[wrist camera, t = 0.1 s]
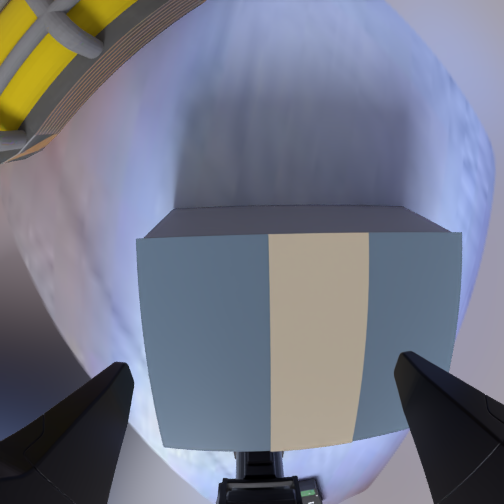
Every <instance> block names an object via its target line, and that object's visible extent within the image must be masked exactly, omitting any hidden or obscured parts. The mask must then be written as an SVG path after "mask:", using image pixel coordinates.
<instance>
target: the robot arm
mask: <svg viewBox="0 0 504 504" xmlns="http://www.w3.org/2000/svg"><path fill="white" fill-rule="evenodd" d="M394 378H395V382H396V385H397V389H398V393H399V397H400V401H401V405H402V408H403V412H404V415H405V417H406V420H407V423H408V426H409V428H410V431H411V434H412V436H413V439H414V442H415V445H416V448H417V451H418V454H419V457H420V460H421V463H422V466H423V469H424V472H425V475H426V479H427V482H428V485H429V488H430V492H431V495H432V499H433V502H434V504H504V405H503V404H501V403H500V402H498V401H496V400H494V399H492V398H491V397H489V396H487V395H485V394H484V393H482V392H481V391H479V390H477V389H475V388H474V387H472V386H470V385H469V384H467V383H465V382H463V381H462V380H460V379H458V378H457V377H455V376H453V375H452V374H450V373H448V372H447V371H445V370H443V369H442V368H440V367H438V366H436V365H435V364H433V363H431V362H430V361H428V360H426V359H425V358H423V357H421V356H420V355H418V354H416V353H415V352H413V351H406V352H401V353H400V354H399V357H398V360H397V363H396V366H395V369H394ZM133 389H134V380H133V377H132V374H131V371H130V369H129V366H128V364H127V363H125V362H114V363H113V364H111V365H110V366H109V367H107V368H106V369H105V370H103V371H102V372H100V373H99V374H98V375H96V376H95V377H94V378H92V379H91V380H90V381H88V382H87V383H85V384H84V385H83V386H81V387H80V388H79V389H77V390H76V391H74V392H73V393H72V394H71V395H69V396H68V397H67V398H65V399H64V400H62V401H61V402H60V403H58V404H57V405H55V406H54V407H53V408H51V409H50V410H49V411H47V412H46V413H44V415H42V416H40V417H39V418H37V419H36V420H34V421H33V422H31V423H30V424H29V425H27V426H26V427H24V428H22V429H21V430H19V431H17V432H16V433H14V434H12V435H11V436H9V437H7V438H5V439H4V440H2V441H0V504H107V502H108V498H109V493H110V489H111V485H112V481H113V477H114V473H115V469H116V464H117V461H118V457H119V453H120V449H121V446H122V442H123V438H124V435H125V431H126V428H127V424H128V419H129V412H130V406H131V401H132V395H133ZM283 453H284V451H274V452H271V451H243V452H234V456H235V459H236V479H228V478H223V482H222V483H219V488H218V497H217V501H216V504H303V502H302V496H301V492H300V487H299V482H298V477H297V476H292V477H284V473H283V463H282V458H283Z"/></svg>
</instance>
